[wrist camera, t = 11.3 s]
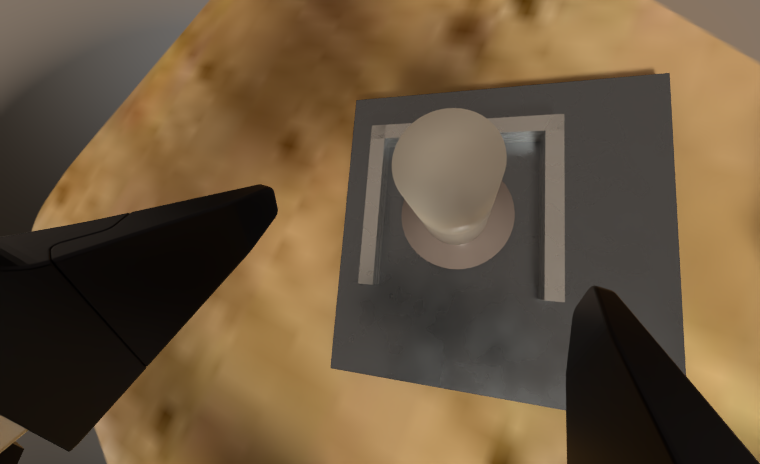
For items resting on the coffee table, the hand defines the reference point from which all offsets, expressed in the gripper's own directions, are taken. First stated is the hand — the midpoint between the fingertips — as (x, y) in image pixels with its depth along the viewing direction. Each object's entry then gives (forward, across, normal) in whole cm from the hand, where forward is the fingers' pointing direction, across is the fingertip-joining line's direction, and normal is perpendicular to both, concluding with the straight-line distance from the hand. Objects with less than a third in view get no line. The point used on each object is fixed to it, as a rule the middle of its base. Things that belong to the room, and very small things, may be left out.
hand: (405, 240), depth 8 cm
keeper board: (+11, -2, +7) cm, 14 cm away
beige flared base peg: (+11, 0, +6) cm, 13 cm away
